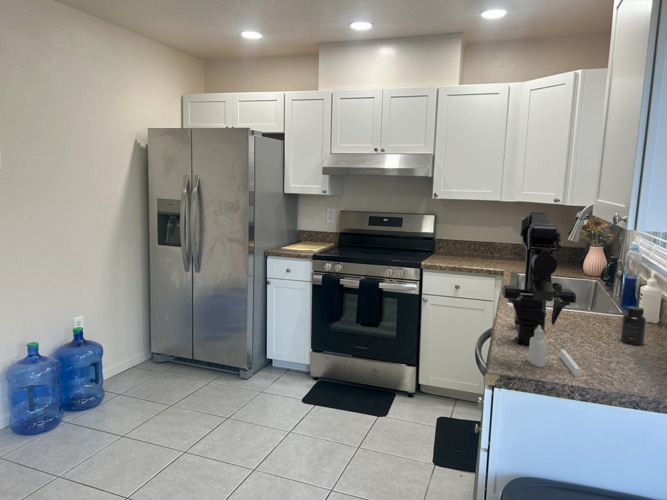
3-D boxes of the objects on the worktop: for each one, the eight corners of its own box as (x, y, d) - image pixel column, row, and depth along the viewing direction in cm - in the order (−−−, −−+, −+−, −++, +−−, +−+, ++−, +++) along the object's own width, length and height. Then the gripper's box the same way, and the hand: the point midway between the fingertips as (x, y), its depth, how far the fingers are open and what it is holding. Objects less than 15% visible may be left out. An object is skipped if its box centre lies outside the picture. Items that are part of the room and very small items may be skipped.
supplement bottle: (622, 338, 171) (625, 304, 169) (645, 342, 166) (649, 307, 165) (618, 342, 165) (622, 307, 164) (642, 347, 161) (646, 311, 159)
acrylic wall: (559, 359, 147) (560, 349, 147) (563, 359, 147) (564, 349, 147) (574, 379, 132) (575, 368, 131) (579, 379, 131) (580, 368, 131)
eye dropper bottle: (543, 363, 143) (547, 323, 141) (544, 370, 138) (548, 329, 136) (527, 361, 144) (531, 322, 143) (527, 367, 139) (531, 326, 138)
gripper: (509, 272, 131) (505, 328, 134) (584, 276, 128) (578, 334, 130) (503, 265, 142) (499, 317, 144) (572, 269, 139) (567, 322, 141)
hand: (535, 323), depth 140 cm, fingers open, 9 cm apart
